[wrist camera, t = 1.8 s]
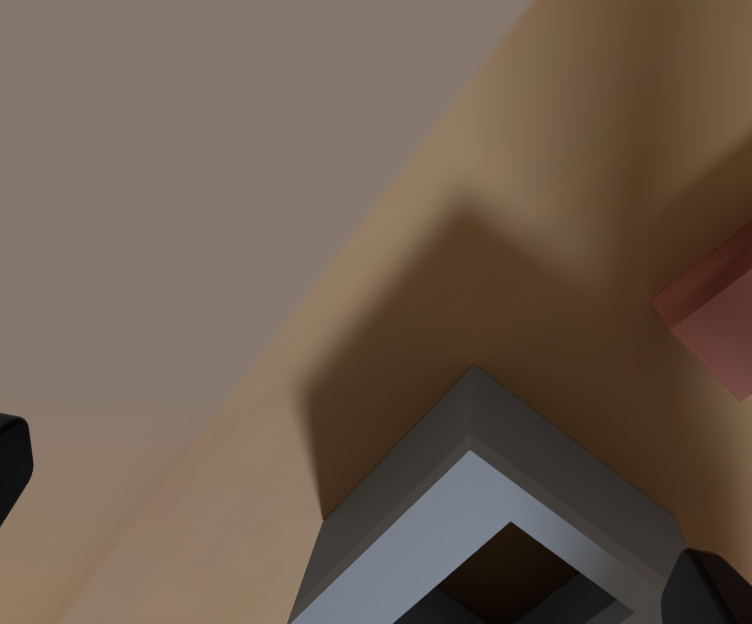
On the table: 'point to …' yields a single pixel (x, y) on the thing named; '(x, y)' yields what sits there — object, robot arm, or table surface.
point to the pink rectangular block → (716, 312)
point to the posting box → (487, 521)
